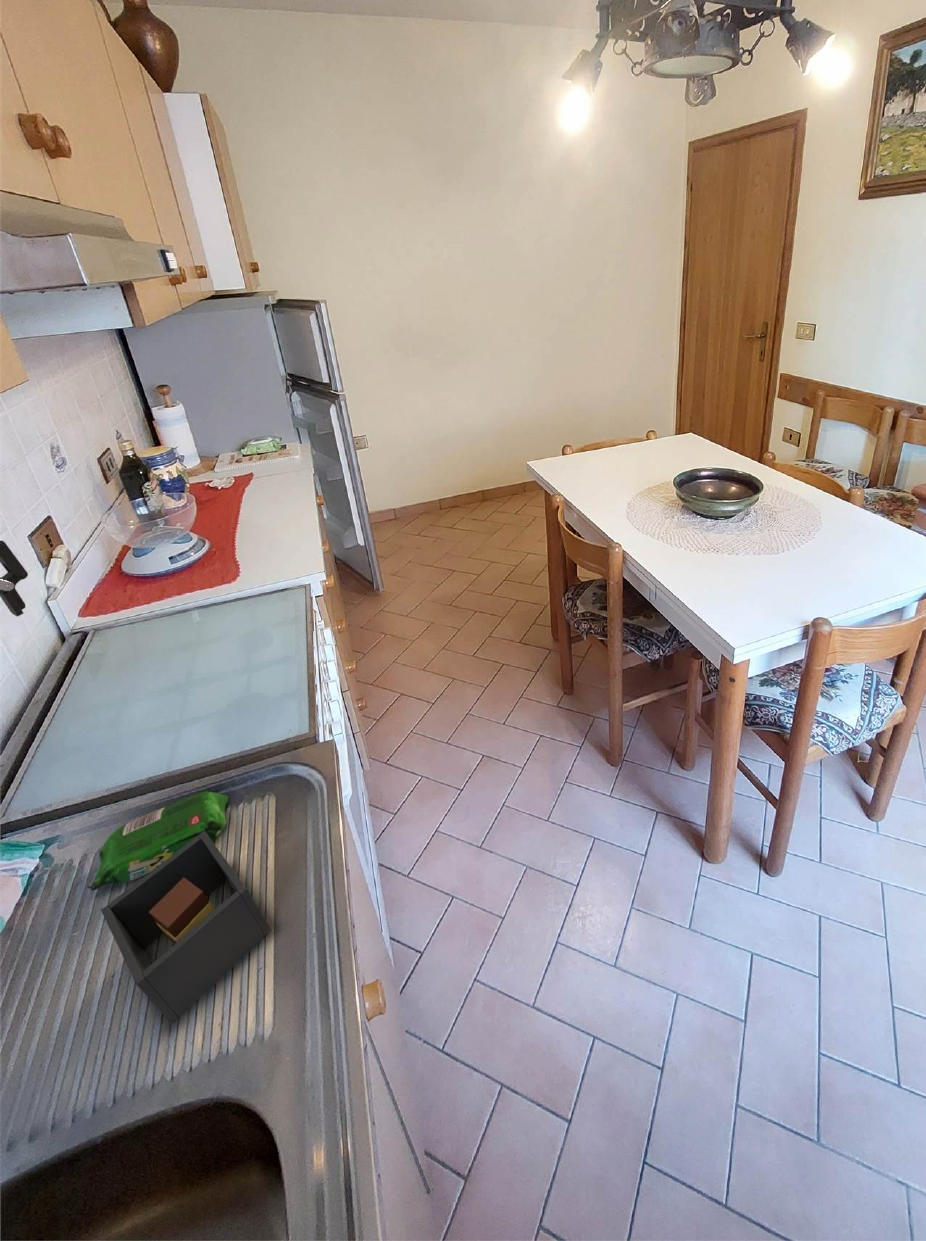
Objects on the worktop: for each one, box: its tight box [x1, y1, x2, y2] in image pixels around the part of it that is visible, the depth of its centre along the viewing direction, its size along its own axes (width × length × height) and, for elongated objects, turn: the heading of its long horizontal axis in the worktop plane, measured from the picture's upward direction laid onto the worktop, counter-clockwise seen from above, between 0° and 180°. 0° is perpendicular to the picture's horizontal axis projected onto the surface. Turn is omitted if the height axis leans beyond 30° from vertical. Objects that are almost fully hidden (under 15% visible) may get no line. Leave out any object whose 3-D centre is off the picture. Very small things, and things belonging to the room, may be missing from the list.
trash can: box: [100, 831, 272, 1025], centre depth 64 cm, size 11×11×10 cm
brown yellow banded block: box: [149, 878, 216, 945], centre depth 64 cm, size 4×4×8 cm
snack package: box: [87, 791, 229, 892], centre depth 76 cm, size 7×16×5 cm, turn 118°
